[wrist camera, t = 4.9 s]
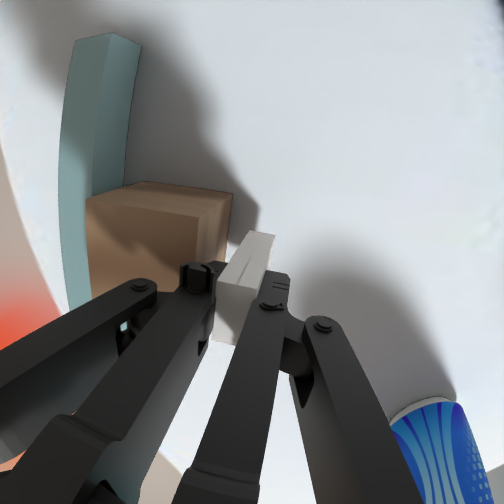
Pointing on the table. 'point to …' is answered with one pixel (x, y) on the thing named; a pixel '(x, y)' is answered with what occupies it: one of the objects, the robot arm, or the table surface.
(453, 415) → the beer can
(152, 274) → the block
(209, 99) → the table surface
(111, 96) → the board
